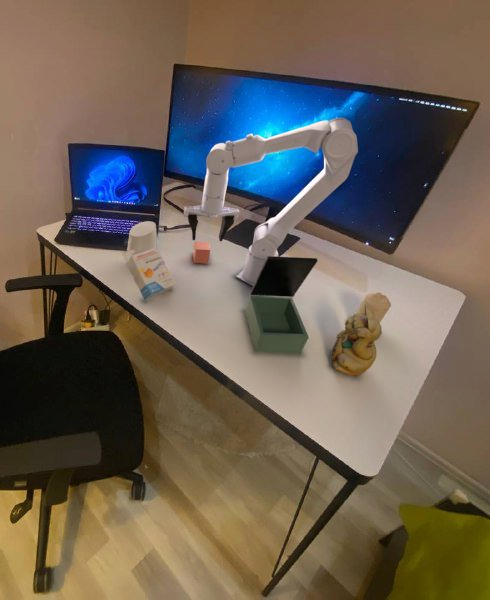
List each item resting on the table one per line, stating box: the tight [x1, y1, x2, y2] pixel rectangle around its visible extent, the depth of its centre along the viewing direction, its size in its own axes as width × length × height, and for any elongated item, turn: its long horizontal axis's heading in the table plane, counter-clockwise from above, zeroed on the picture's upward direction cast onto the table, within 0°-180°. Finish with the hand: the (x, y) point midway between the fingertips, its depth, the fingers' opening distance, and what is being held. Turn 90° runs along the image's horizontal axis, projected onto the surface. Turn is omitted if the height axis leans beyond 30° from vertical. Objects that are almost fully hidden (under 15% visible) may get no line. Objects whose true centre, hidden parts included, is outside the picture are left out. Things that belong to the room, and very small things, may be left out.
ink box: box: [122, 246, 177, 301], centre depth 94 cm, size 8×5×15 cm
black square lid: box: [249, 256, 318, 298], centre depth 82 cm, size 14×11×5 cm
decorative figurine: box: [330, 305, 383, 377], centre depth 74 cm, size 10×8×15 cm
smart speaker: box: [126, 220, 159, 256], centre depth 101 cm, size 10×9×14 cm
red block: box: [192, 241, 211, 264], centre depth 107 cm, size 4×4×5 cm
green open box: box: [244, 294, 309, 355], centre depth 84 cm, size 14×11×6 cm
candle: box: [354, 292, 392, 324], centre depth 84 cm, size 6×6×10 cm
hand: (206, 239), depth 99 cm, fingers open, 7 cm apart
